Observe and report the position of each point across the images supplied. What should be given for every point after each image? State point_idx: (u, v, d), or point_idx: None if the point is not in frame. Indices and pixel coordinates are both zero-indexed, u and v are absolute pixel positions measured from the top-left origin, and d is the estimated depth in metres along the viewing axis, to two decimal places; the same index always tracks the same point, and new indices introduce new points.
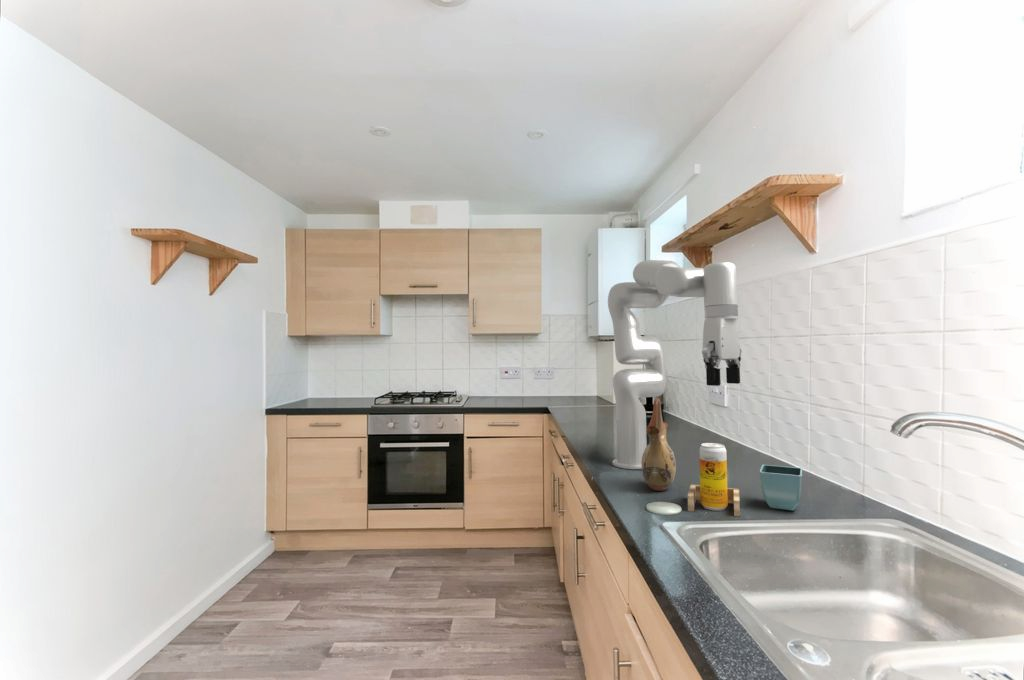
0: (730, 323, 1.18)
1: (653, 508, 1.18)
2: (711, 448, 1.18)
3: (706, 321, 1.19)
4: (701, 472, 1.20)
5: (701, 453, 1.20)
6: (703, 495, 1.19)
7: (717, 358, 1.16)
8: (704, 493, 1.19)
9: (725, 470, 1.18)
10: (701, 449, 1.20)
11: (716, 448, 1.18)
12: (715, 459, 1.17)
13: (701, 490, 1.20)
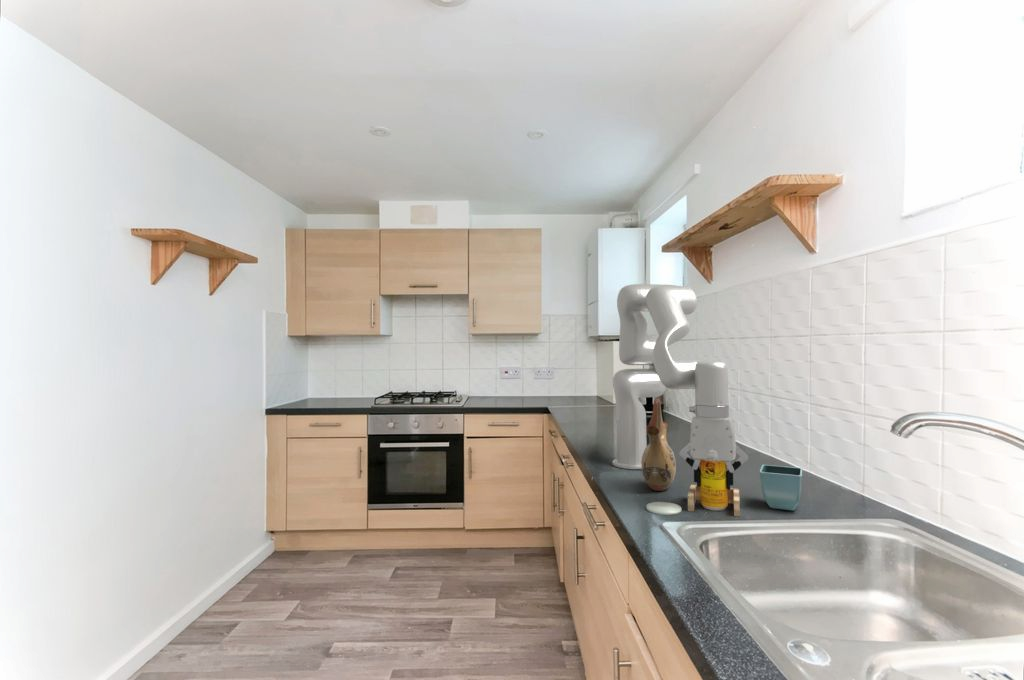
0: None
1: (653, 508, 1.18)
2: None
3: (732, 421, 1.17)
4: (701, 472, 1.20)
5: None
6: (703, 495, 1.19)
7: None
8: (704, 493, 1.19)
9: (725, 470, 1.18)
10: None
11: None
12: (715, 459, 1.17)
13: (701, 490, 1.20)
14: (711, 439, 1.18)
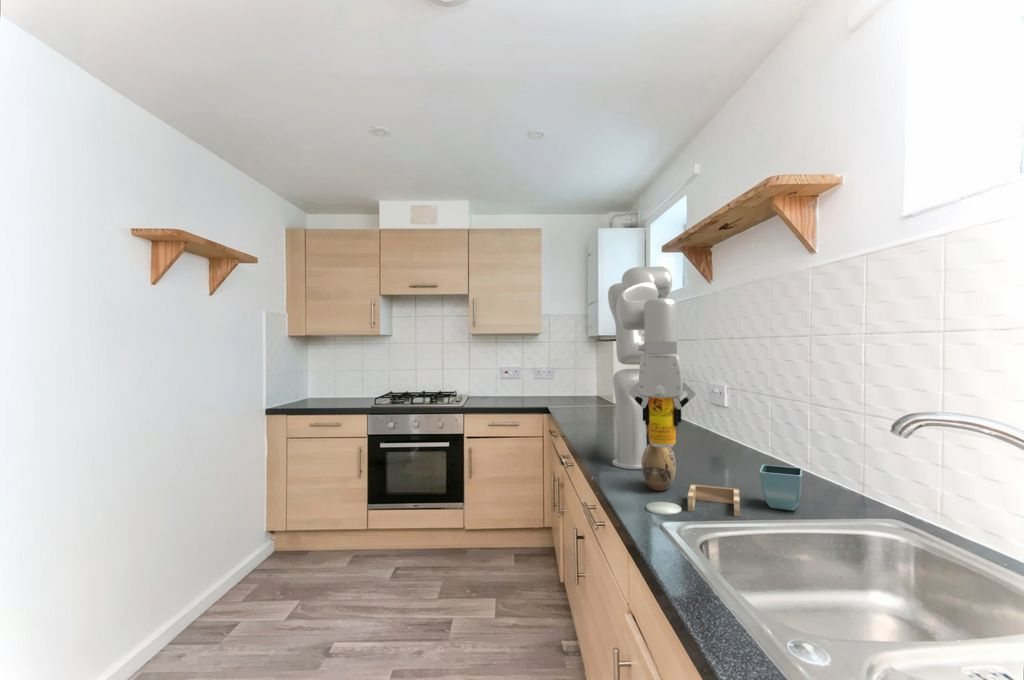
0: None
1: (653, 508, 1.18)
2: None
3: (679, 357, 1.16)
4: (649, 410, 1.19)
5: None
6: (651, 433, 1.18)
7: None
8: (651, 431, 1.18)
9: (673, 407, 1.17)
10: None
11: None
12: (662, 395, 1.16)
13: (649, 428, 1.19)
14: (658, 376, 1.17)
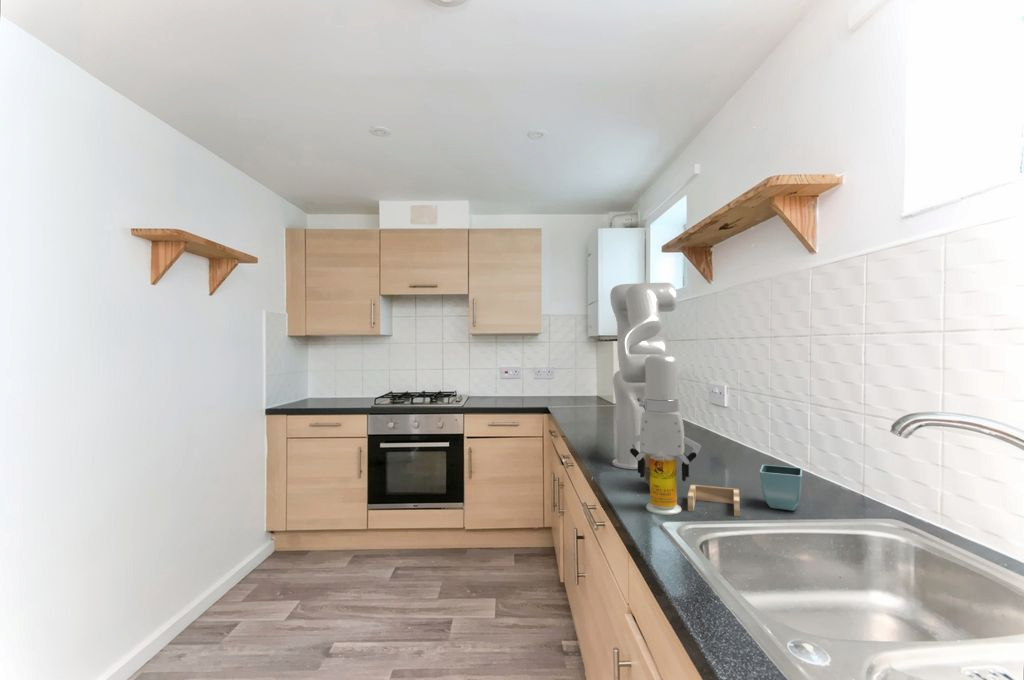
0: None
1: (653, 508, 1.18)
2: None
3: (680, 415, 1.16)
4: (650, 471, 1.19)
5: None
6: (652, 495, 1.18)
7: None
8: (653, 492, 1.18)
9: (674, 469, 1.17)
10: None
11: None
12: (664, 458, 1.16)
13: (650, 489, 1.19)
14: (660, 434, 1.17)
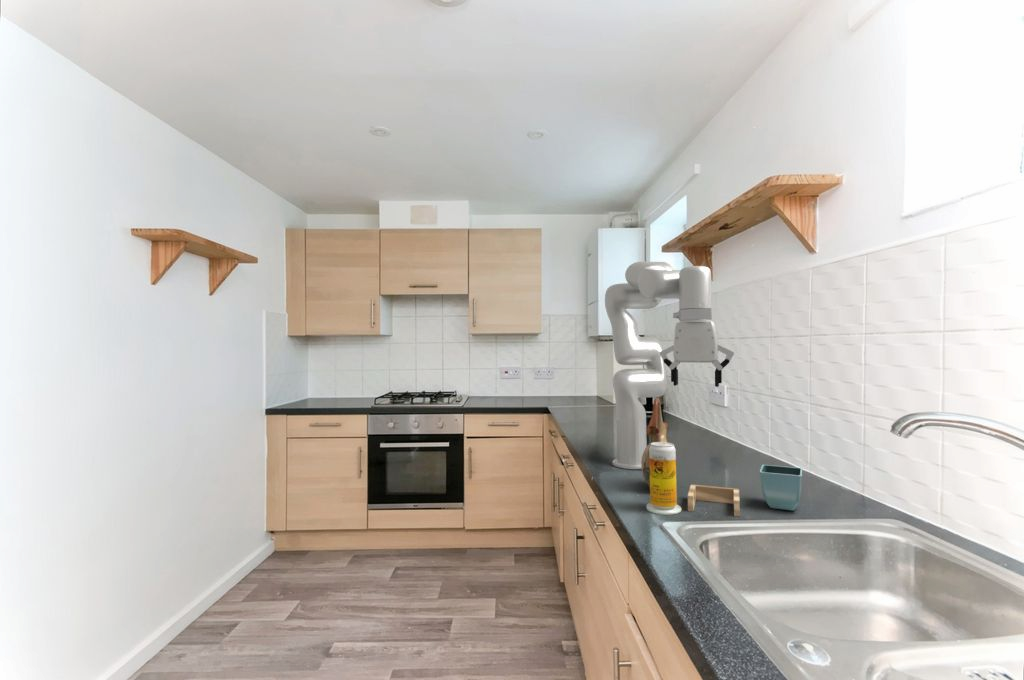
0: None
1: (653, 508, 1.18)
2: (659, 447, 1.17)
3: (714, 323, 1.20)
4: (650, 471, 1.19)
5: (650, 452, 1.19)
6: (652, 495, 1.18)
7: None
8: (652, 493, 1.18)
9: (674, 469, 1.17)
10: (650, 448, 1.19)
11: (664, 447, 1.17)
12: (663, 458, 1.16)
13: (650, 489, 1.19)
14: (693, 341, 1.21)
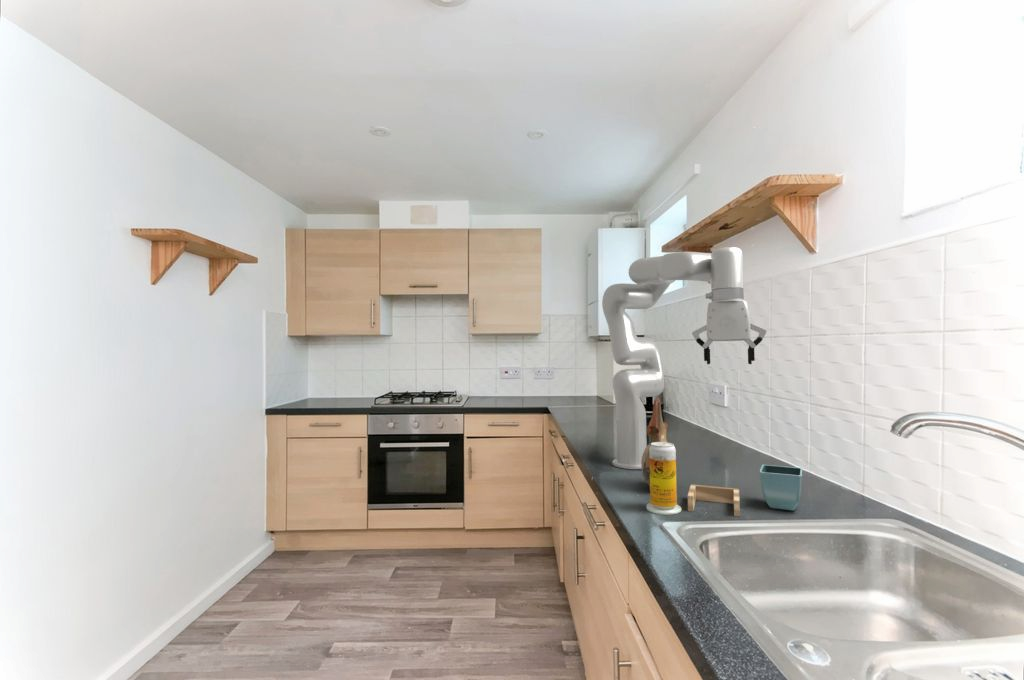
0: None
1: (653, 508, 1.18)
2: (660, 447, 1.17)
3: (746, 302, 1.23)
4: (650, 471, 1.19)
5: (650, 452, 1.19)
6: (652, 495, 1.18)
7: None
8: (652, 493, 1.18)
9: (674, 469, 1.17)
10: (650, 448, 1.19)
11: (664, 447, 1.17)
12: (663, 458, 1.16)
13: (650, 489, 1.19)
14: (727, 320, 1.24)
